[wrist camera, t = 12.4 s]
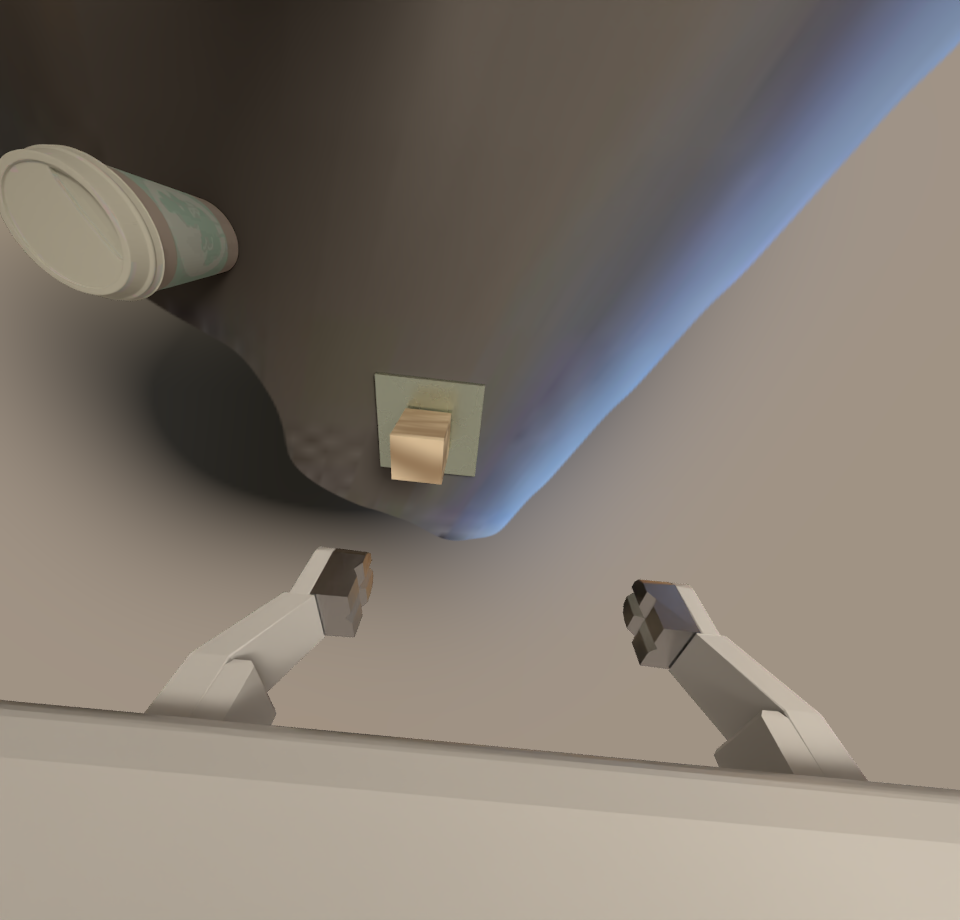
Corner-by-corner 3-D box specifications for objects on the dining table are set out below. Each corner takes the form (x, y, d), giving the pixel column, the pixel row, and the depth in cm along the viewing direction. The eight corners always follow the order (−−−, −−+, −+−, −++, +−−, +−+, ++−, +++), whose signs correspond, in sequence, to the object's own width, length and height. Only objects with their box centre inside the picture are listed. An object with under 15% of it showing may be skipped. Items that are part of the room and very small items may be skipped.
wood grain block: (405, 408, 38) (389, 435, 32) (451, 413, 38) (443, 441, 33) (406, 447, 41) (391, 479, 35) (448, 452, 41) (441, 484, 35)
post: (376, 372, 37) (353, 395, 31) (484, 384, 37) (482, 409, 31) (381, 463, 43) (363, 497, 37) (474, 473, 44) (471, 509, 38)
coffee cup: (260, 297, 34) (156, 317, 23) (170, 277, 33) (24, 288, 23) (246, 190, 29) (111, 157, 19) (142, 165, 29) (-55, 116, 18)
